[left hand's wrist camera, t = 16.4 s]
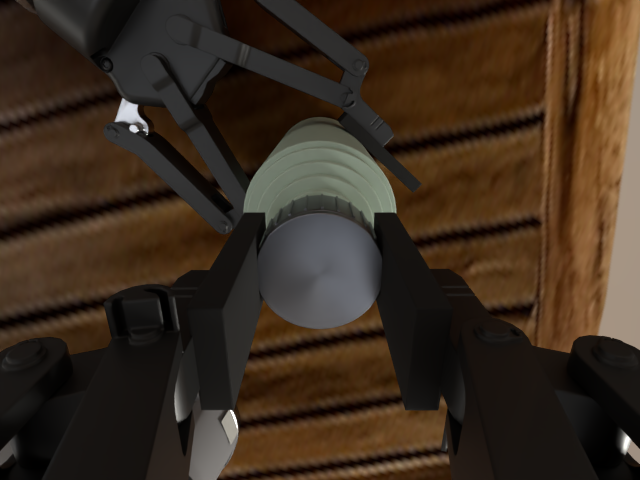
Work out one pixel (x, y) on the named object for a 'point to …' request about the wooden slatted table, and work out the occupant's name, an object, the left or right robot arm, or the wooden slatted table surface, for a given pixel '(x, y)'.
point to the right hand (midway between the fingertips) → (372, 223)
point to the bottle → (319, 171)
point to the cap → (319, 262)
